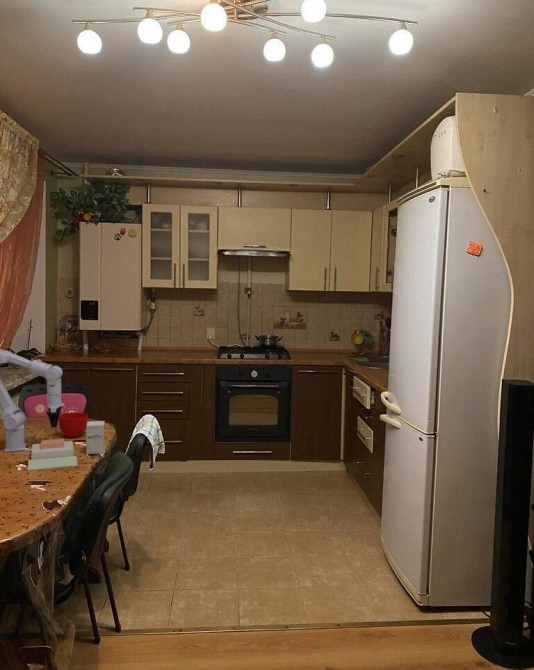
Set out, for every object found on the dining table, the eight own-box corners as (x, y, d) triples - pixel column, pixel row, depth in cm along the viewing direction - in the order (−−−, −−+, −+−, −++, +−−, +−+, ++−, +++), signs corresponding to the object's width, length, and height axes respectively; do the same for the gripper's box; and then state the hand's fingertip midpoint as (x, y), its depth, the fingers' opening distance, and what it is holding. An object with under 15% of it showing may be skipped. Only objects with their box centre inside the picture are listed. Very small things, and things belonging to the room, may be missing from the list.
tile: (41, 445, 217) (41, 440, 217) (64, 443, 221) (64, 438, 220) (41, 449, 212) (41, 444, 211) (64, 447, 215) (64, 442, 215)
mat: (28, 461, 205) (28, 460, 205) (76, 456, 212) (76, 455, 212) (27, 470, 194) (27, 469, 194) (77, 465, 201) (77, 465, 201)
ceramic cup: (95, 431, 252) (95, 411, 251) (80, 440, 235) (80, 419, 234) (70, 429, 253) (70, 409, 252) (53, 439, 236) (53, 418, 236)
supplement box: (85, 454, 216) (85, 425, 215) (87, 449, 223) (87, 421, 222) (104, 453, 218) (104, 424, 217) (104, 448, 225) (104, 420, 224)
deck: (32, 450, 218) (32, 444, 218) (72, 447, 224) (72, 440, 224) (31, 460, 206) (31, 453, 206) (73, 456, 213) (73, 449, 212)
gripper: (63, 397, 215) (63, 428, 216) (64, 390, 228) (64, 420, 230) (45, 398, 212) (45, 429, 214) (47, 391, 226) (48, 421, 227)
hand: (54, 425), depth 221 cm, fingers open, 7 cm apart
